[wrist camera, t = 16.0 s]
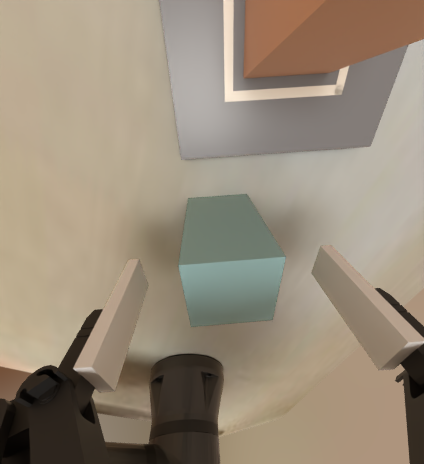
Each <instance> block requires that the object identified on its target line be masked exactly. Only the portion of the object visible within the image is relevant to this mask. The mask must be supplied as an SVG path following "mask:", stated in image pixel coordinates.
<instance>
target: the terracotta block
mask: <svg viewBox="0 0 424 464" xmlns="http://www.w3.org/2000/svg"><path fill="white" fill-rule="evenodd" d="M422 39H424V0H245V36H244V74H243V79H244V78H259V77H274V76H290V75H305V74H320V73H330V72H333V71H336V70H339V69H342V68H344V67H347V66H350V65H353V64H355V63H358V62H361V61H364V60H367V59H369V58H372V57H375V56H378V55H380V54H383V53H386V52H389V51H392V50H394V49H397V48H400V47H403V46H406V45H408V44H411V43H414V42H417V41H419V40H422Z"/></svg>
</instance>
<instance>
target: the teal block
mask: <svg viewBox="0 0 424 464" xmlns="http://www.w3.org/2000/svg"><path fill="white" fill-rule="evenodd" d="M285 259H286V256H285V255H284V253H283V251H282V250H281V248H280V247H279V245H278V243H277V242H276V240H275V239H274V237H273V235H272V234H271V232H270V231H269V229H268V227H267V226H266V224H265V222H264V221H263V219H262V218H261V216H260V214H259V213H258V211H257V210H256V208H255V206H254V205H253V203H252V202H251V200H250V198H249V197H248V195H247V194H240V195H227V196H213V197H199V198H188V204H187V210H186V217H185V224H184V230H183V237H182V244H181V250H180V257H179V264H178V266H179V271H180V276H181V281H182V286H183V291H184V296H185V300H186V305H187V310H188V315H189V320H190V325H191V327H198V326H209V325H221V324H232V323H244V322H256V321H267V320H273V316H274V311H275V307H276V302H277V297H278V292H279V287H280V283H281V278H282V273H283V268H284V264H285Z"/></svg>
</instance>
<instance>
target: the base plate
mask: <svg viewBox="0 0 424 464" xmlns="http://www.w3.org/2000/svg"><path fill="white" fill-rule="evenodd" d="M159 2H160V9H161V17H162V24H163V31H164V38H165V46H166V53H167V60H168V67H169V75H170V82H171V89H172V96H173V104H174V111H175V118H176V125H177V133H178V140H179V147H180V155H181V160H184V159H198V158H213V157H227V156H242V155H256V154H270V153H285V152H299V151H314V150H328V149H342V148H357V147H370V146H371V144H372V141H373V138H374V136H375V133H376V130H377V128H378V125H379V122H380V120H381V117H382V114H383V112H384V109H385V106H386V104H387V101H388V98H389V96H390V93H391V90H392V87H393V85H394V82H395V79H396V77H397V74H398V71H399V69H400V66H401V63H402V61H403V58H404V55H405V53H406V50H407V47H408V45H409V44H408V45H406V46H403V47H400V48H397V49H394V50H392V51H389V52H386V53H383V54H380V55H378V56H375V57H372V58H369V59H367V60H364V61H361V62H358V63H355V64H353V65H350V66H347V67H344V68H342V69H339V70H336V71H333V72H330V73H320V74H305V75H290V76H274V77H259V78H244V79H243V74H244V36H245V0H159Z"/></svg>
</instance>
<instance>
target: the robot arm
mask: <svg viewBox="0 0 424 464" xmlns="http://www.w3.org/2000/svg"><path fill="white" fill-rule="evenodd" d="M312 275H313V276H314V278H315V279H316V280H317V282H318V283H319V285H320V286H321V288H322V289H323V291H324V292H325V293H326V295H327V296H328V298H329V299H330V301H331V302H332V304H333V305H334V306H335V308H336V309H337V311H338V312H339V314H340V315H341V317H342V318H343V319H344V321H345V322H346V324H347V325H348V327H349V328H350V330H351V331H352V332H353V334H354V335H355V337H356V338H357V340H358V341H359V343H360V344H361V345H362V347H363V348H364V350H365V351H366V352H367V354H368V355H369V357H370V358H371V360H372V361H373V363H374V364H375V366H376V367H377V368H378V370H390V369H395V368H396V367H397V366H398V365H399V364H401V365H402V366H403V367H404V369H405V370H404V371H403V372H402V373H401V374H399V375H398V376H397V377H396V380H395V381H396V382H400V381H401V380H402V379H403V380H404V384H403V386H404V393H405V406H406V419H407V432H408V445H409V459H410V464H424V326H423V325H422V324H420V323H419V322H418V321H417V320H416V319H415V318H414V317H413V316H412V315H411V314H410V313H408V312H407V310H406V309H405V308H404V307H403V306H402V305H400V303H398V302H397V301H396V300H395V299H394V298H393V297H392V296H391V295H390V294H388V293H387V292H385V291H383V290H382V289H380V288H375V289H374V288H373V287H372V286H371V285H370V284H369V283H368V282H367V281H366V280H365V279H364V278H363V277H362V276H361V275H360V274H359V273H358V272H357V271H356V270H355V269H354V268H353V267H352V266H351V265H350V264H349V263H348V262H347V261H346V260H345V259H344V258H343V257H342V256H341V255H340V254H339V253H338V251H337V250H336V249H335V248H334V247H333V246H332V245H325V246H320V249H319V252H318V255H317V258H316V261H315V264H314V267H313V270H312ZM147 288H148V282H147V279H146V277H145V274H144V271H143V268H142V266H141V263H140V260H139V259H131V260H128V262H127V263H126V265H125V267H124V269H123V271H122V273H121V275H120V277H119V279H118V281H117V283H116V285H115V287H114V289H113V291H112V293H111V295H110V297H109V299H108V301H107V303H106V305H105V307H104V309H100V310H94V311H93V312H92V313H91V314H90V315H89V316H88V317H87V318H86V320H85V322H84V324H83V325H82V327H81V330H80V331H79V332H78V334H77V336H76V338H75V339H74V341H73V343H72V345H71V346H70V348H69V350H68V352H67V353H66V355H65V357H64V359H63V360H62V362H61V364H60V366H59V367H58V368H57V367H55V366H52V365H49V366H44V367H42V368H40V369H38V370H36V371H35V372H34V373H33V374H31V375H30V376H29V377H28V378H27V379H26V380H25V381H24V382H23V383H22V385H21V386H20V388H19V390H18V392H17V394H16V398H15V399H14V400H12V401H7V400H5V399H0V464H220V454H219V439H218V413H219V407H220V401H221V395H222V388H223V381H224V378H223V368H222V365H221V364H220V363H219V362H218V361H216V360H214V359H212V358H209V357H206V356H200V355H179V356H173V357H169V358H166V359H164V360H161V361H159V362H158V363H156V364H155V365H154V366H153V368H152V371H151V376H150V381H149V388H150V402H151V416H152V425H151V432H150V439H149V444H136V443H116V442H105V441H104V437H103V434H102V430H101V426H100V423H99V419H98V415H97V412H96V408H95V404H94V401H93V398H92V397H91V396H92V394H93V391H94V389H96V390H97V391H98V392H111V391H115V390H116V387H117V383H118V380H119V377H120V374H121V371H122V368H123V364H124V361H125V358H126V355H127V352H128V349H129V345H130V342H131V339H132V336H133V333H134V330H135V326H136V323H137V320H138V317H139V314H140V311H141V307H142V304H143V301H144V298H145V295H146V291H147Z"/></svg>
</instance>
